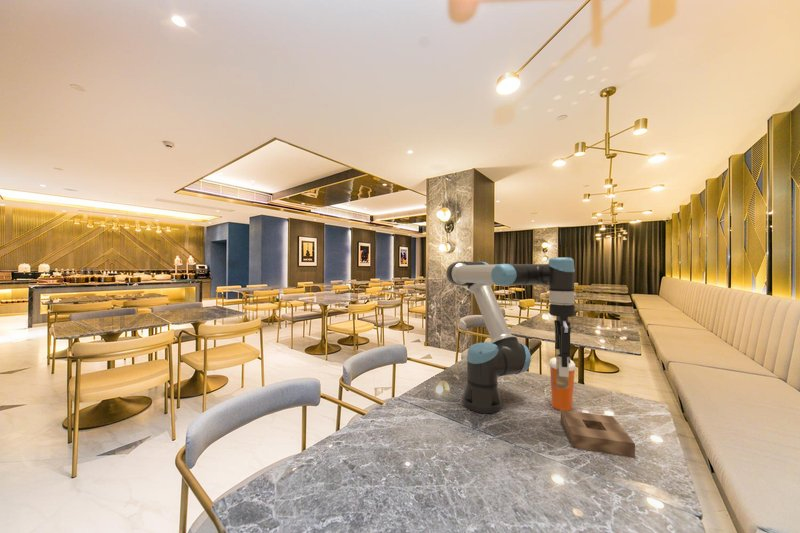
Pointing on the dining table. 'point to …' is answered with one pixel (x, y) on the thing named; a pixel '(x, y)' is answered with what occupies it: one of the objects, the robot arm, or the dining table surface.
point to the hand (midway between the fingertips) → (562, 374)
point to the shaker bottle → (561, 396)
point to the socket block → (597, 433)
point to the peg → (560, 381)
